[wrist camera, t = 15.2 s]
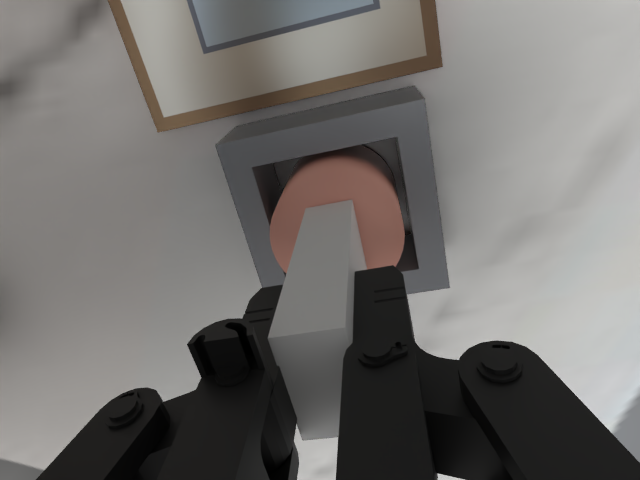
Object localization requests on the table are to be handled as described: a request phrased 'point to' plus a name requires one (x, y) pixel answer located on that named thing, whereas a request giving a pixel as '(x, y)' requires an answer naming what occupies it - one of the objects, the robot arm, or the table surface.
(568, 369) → the table surface
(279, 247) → the button
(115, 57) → the table surface
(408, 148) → the button housing
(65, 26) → the table surface
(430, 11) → the picture frame
